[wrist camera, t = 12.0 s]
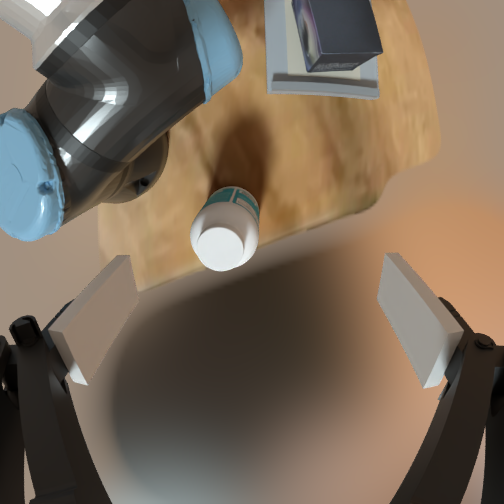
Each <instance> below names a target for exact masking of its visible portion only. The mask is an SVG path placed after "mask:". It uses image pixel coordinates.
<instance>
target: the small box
mask: <svg viewBox="0 0 504 504" xmlns="http://www.w3.org/2000/svg"><path fill="white" fill-rule="evenodd" d="M291 5H292V9H293V13H294V17H295V21H296V25H297V29H298V34H299V38H300V43H301V47H302V52H303V57H304V61H305V66H306V71H307V72H308V73H313V72H329V71H353V70H354V69H355V68H357V67H358V66H360V65H361V64H363V63H365V62H367V61H368V60H370V59H371V58H373V57H375V56H377V55H379V54H382V53H383V49H382V45H381V40H380V36H379V32H378V29H377V25H376V21H375V17H374V14H373V10H372V7H371V4H370V1H369V0H292V2H291Z"/></svg>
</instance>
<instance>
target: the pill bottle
mask: <svg viewBox="0 0 504 504" xmlns="http://www.w3.org/2000/svg"><path fill="white" fill-rule="evenodd" d="M190 239H191V244H192V247H193V249H194V251H195V253H196V254H197V255H198V257H199V259H200V261H201V262H202V263H203V264H204V265H205V266H207V267H208V268H210V269H213V270H216V271H226V270H230V269H232V268H234V267H238V266H240V265H242V264H244V263H245V262H246V261H248V260H249V259H250V258H251V256H252V255H253V254H254V252H255V250H256V248H257V245H258V239H259V207H258V204H257V202H256V200H255V198H254V197H253V196H252V195H251V194H250V193H249V192H248V191H246V190H245V189H242V188H240V187H235V186H229V187H224V188H221V189H219V190H217V191H216V192H214V193H213V194H212V195H211V196H210V198H209V199H208V200H207V202H206V203H205V205H204V206H203V207H202V209H201V210H200V212H199V213H198V214H197V216H196V217H195V219H194V221H193V223H192V226H191V231H190Z"/></svg>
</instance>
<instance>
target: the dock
mask: <svg viewBox="0 0 504 504" xmlns="http://www.w3.org/2000/svg"><path fill="white" fill-rule="evenodd" d="M369 1H370V4H371V0H369ZM291 2H292V0H264V14H265V39H266V68H267V94H304V95H324V96H338V97H349V98H359V99H367V100H373V99H378V98H379V88H378V66H377V56H375V57H373V58H371V59H370V60H368V61H367V62H365V63H363V64H361V65H360V66H358V67H357V68H355V69H354V70H353V71H329V72H313V73H308V72H307V71H306V66H305V61H304V57H303V52H302V47H301V43H300V38H299V34H298V29H297V25H296V21H295V17H294V13H293V9H292V5H291ZM371 7H372V5H371Z"/></svg>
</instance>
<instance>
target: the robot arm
mask: <svg viewBox="0 0 504 504" xmlns="http://www.w3.org/2000/svg"><path fill="white" fill-rule="evenodd" d="M0 19H2V20H3V21H5V22H6V23H7V24H9V25H10V26H12V27H13V28H15V29H16V30H17V31H19V32H20V33H22V34H24V35H25V36H26V37H27V38H29V39H30V40H31V43H32V56H33V68H34V69H35V70H36V71H38V72H39V73H41V74H42V75H44V76H45V77H47V78H48V79H47V80H46V81H45V82H44V84H43V85H42V86H41V88H40V89H39V90H38V92H37V93H36V94H35V96H34V97H33V98H32V100H31V101H30V102H29V104H28V105H27V106H26V107H25V108H24V109H17V108H13V109H11V110H9V111H7V112H6V113H3V114H0V227H1V228H2V229H3V230H4V231H5V232H6V233H7V234H9V235H10V236H12V237H14V238H18V239H20V240H22V241H34V240H37V239H40V238H41V237H43V236H45V235H48V234H53V233H54V232H56V231H57V230H58V229H59V228H60V227H61V226H63V225H64V224H66V223H67V222H69V221H71V220H72V219H74V218H76V217H77V216H79V215H81V214H82V213H84V212H86V211H88V210H89V209H91V208H93V207H94V206H96V205H98V204H100V203H113V204H117V203H124V202H128V201H131V200H133V199H136V198H137V197H139V196H141V195H142V194H144V193H145V192H147V191H148V190H149V189H150V188H151V187H153V185H154V184H155V183H156V182H157V180H158V179H159V177H160V176H161V174H162V172H163V170H164V167H165V164H166V160H167V154H168V140H167V134H166V132H167V131H168V130H169V129H170V128H171V127H173V126H174V125H175V124H176V123H178V122H179V121H180V120H181V119H183V118H184V117H185V116H186V115H188V114H189V113H190V112H192V111H193V110H194V109H195V108H197V107H198V106H199V105H201V104H202V103H203V104H206V103H207V102H209V101H210V99H211V96H213V95H214V94H215V93H217V92H218V91H219V90H220V89H222V88H223V87H224V86H226V85H227V84H228V83H230V82H231V81H232V80H234V79H235V78H236V77H237V76H238V74H239V73H240V71H241V68H242V65H243V54H242V50H241V46H240V43H239V40H238V38H237V35H236V33H235V31H234V28H233V26H232V24H231V22H230V20H229V18H228V17H227V15H226V13H225V11H224V10H223V8H222V6H221V5H220V3H219V1H218V0H0ZM138 301H139V296H138V292H137V288H136V283H135V279H134V274H133V270H132V265H131V260H130V255H117V256H116V257H115V258H114V259H113V260H112V261H111V262H110V263H109V264H108V265H107V266H106V267H105V268H104V269H103V270H102V271H101V272H100V273H99V274H98V275H97V276H96V277H95V278H94V279H93V280H92V281H91V282H90V283H89V285H88V286H87V287H86V288H85V289H84V290H83V291H82V292H81V293H80V294H79V295H78V296H77V297H76V298H75V299H73V300H72V301H70V302H69V303H67V304H66V305H65V306H64V307H63V308H62V309H61V310H60V312H59V313H57V315H56V316H55V318H53V319H52V320H51V321H50V322H49V323H48V325H47V326H46V327H45V328H44V329H43V330H42V332H41V330H40V328H39V326H38V324H37V321H36V319H35V317H33V316H29V315H27V316H23V317H20V318H18V319H17V320H15V321H14V322H13V323H12V324H11V325H10V328H9V330H10V333H11V335H12V337H13V339H14V341H15V343H16V345H9V344H8V342H7V340H6V338H5V337H4V336H2V335H1V336H0V504H25V499H24V452H25V451H26V456H27V461H28V465H29V470H30V474H31V479H32V483H33V487H34V490H35V495H36V496H35V498H34V499H32V500H30V503H29V504H112V502H111V500H110V498H109V497H108V494H107V492H106V490H105V488H104V486H103V484H102V481H101V479H100V477H99V475H98V472H97V470H96V468H95V465H94V463H93V460H92V458H91V455H90V453H89V450H88V448H87V445H86V442H85V439H84V437H83V434H82V431H81V428H80V425H79V422H78V418H77V415H76V412H75V409H74V405H73V402H72V398H71V395H70V391H69V387H68V383H67V382H66V380H65V376H66V375H67V373H68V372H69V374H70V376H71V378H72V380H73V381H74V382H77V383H80V384H85V385H88V384H89V383H90V380H91V379H92V377H93V376H94V374H95V372H96V370H97V369H98V367H99V365H100V363H101V362H102V360H103V358H104V357H105V355H106V353H107V351H108V350H109V348H110V346H111V345H112V343H113V341H114V340H115V338H116V337H117V335H118V333H119V332H120V330H121V328H122V327H123V325H124V324H125V322H126V320H127V319H128V317H129V316H130V314H131V312H132V311H133V309H134V308H135V306H136V305H137V303H138ZM377 301H378V302H379V304H380V306H381V308H382V309H383V311H384V313H385V315H386V317H387V318H388V320H389V322H390V324H391V326H392V328H393V330H394V331H395V333H396V335H397V337H398V339H399V341H400V343H401V345H402V346H403V349H404V350H405V353H406V354H407V356H408V358H409V360H410V362H411V364H412V366H413V369H414V371H415V372H416V375H417V377H418V379H419V381H420V383H421V385H422V387H423V388H428V387H433V386H437V385H439V383H440V382H441V380H442V378H443V376H444V375H445V376H446V378H447V380H448V382H447V384H446V386H445V387H444V389H443V391H442V393H441V394H440V396H439V398H438V400H440V402H439V404H438V407H437V410H436V413H435V415H434V417H433V420H432V422H431V425H430V427H429V429H428V432H427V434H426V436H425V439H424V441H423V443H422V445H421V447H420V449H419V451H418V454H417V455H416V457H415V459H414V461H413V463H412V466H411V467H410V469H409V471H408V473H407V475H406V477H405V478H404V480H403V482H402V484H401V485H400V487H399V489H398V491H397V492H396V494H395V496H394V497H393V499H392V501H391V502H390V504H460V503H461V501H462V499H463V496H464V493H465V491H466V488H467V486H468V483H469V480H470V477H471V474H472V472H473V468H474V465H475V462H476V459H477V456H478V452H479V449H480V445H481V441H482V437H483V433H484V428H486V446H485V447H486V448H485V469H484V481H483V491H482V499H481V504H504V346H497V345H496V344H495V342H494V341H493V340H492V339H491V338H490V337H489V336H487V335H485V334H481V333H474V332H473V330H472V329H471V328H470V327H469V325H468V324H467V323H466V322H465V321H464V319H463V318H462V317H460V314H459V313H458V312H457V311H456V309H455V308H454V307H453V306H452V305H451V304H450V303H449V302H448V301H446V300H445V299H443V298H442V297H437V296H436V295H435V294H434V293H433V291H432V290H431V289H430V288H429V287H428V286H427V284H426V283H425V282H424V281H423V280H422V279H421V278H420V276H419V275H418V274H417V273H416V272H415V271H414V270H413V269H412V267H411V266H410V265H409V264H408V263H407V262H406V261H405V260H404V259H403V258H402V256H401V255H400V254H399V253H385V257H384V263H383V269H382V274H381V280H380V286H379V290H378V296H377ZM2 382H3V383H4V385H5V388H4V390H3V386H2Z"/></svg>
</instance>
